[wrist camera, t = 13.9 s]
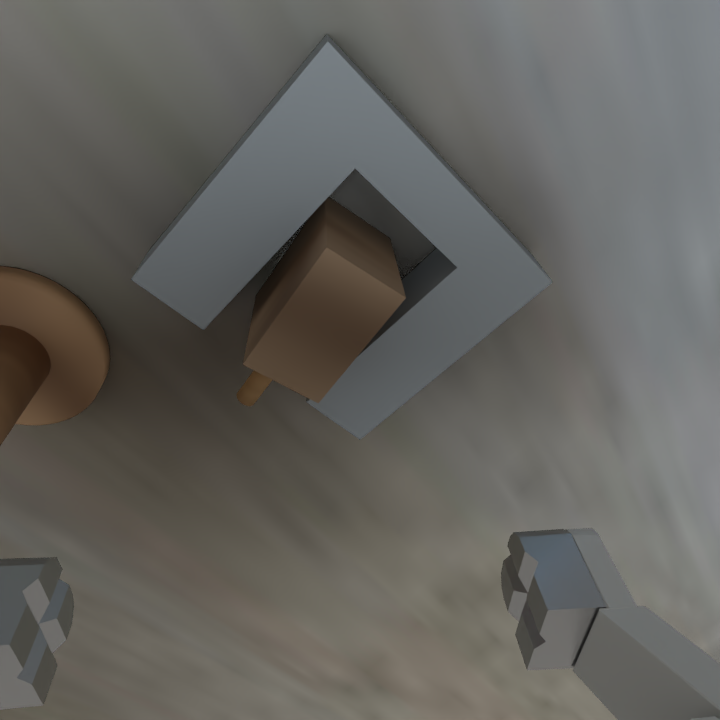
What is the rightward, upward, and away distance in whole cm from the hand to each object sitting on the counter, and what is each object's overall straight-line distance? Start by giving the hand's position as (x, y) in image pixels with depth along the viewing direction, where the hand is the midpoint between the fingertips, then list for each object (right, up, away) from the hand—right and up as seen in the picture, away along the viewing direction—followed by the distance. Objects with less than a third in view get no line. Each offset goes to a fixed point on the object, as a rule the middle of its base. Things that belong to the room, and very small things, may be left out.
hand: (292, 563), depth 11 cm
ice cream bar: (-1, +6, +13) cm, 14 cm away
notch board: (+1, +8, +12) cm, 14 cm away
